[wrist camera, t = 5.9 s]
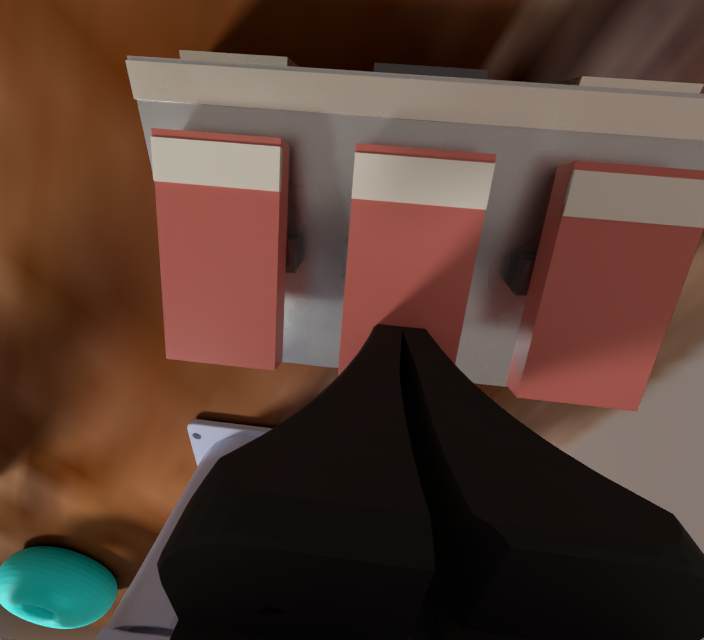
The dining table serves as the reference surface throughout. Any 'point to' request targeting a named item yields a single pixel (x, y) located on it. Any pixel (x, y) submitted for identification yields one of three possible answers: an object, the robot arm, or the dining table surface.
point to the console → (418, 132)
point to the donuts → (56, 587)
